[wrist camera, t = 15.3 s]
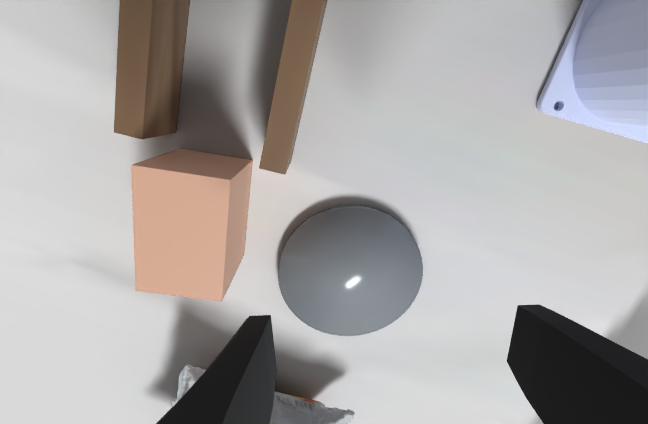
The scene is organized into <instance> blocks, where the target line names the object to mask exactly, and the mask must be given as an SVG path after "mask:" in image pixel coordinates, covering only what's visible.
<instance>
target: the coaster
mask: <svg viewBox="0 0 648 424" xmlns="http://www.w3.org/2000/svg"><path fill="white" fill-rule="evenodd" d="M422 276H423V265H422V258H421V254H420V250H419V248H418V246H417V244H416V242H415V240H414V239H413V237H412V236H411V234H410V233H409V231H408V230H407V229H406V228H405V227H404V226H403V225H402V224H401V223H400V222H399V221H398V220H397V219H395V218H394V217H392V216H390V215H389V214H387V213H385V212H383V211H381V210H378V209H375V208H371V207H366V206H360V205H346V206H338V207H333V208H330V209H327V210H324V211H321V212H319V213H317V214H315V215H313V216H312V217H310V218H308V219H307V220H305V221H304V222H303V223H302V224H301V225H300V226H298V228H297V229H296V230H295V231H294V232H293V233H292V235H291V236H290V237H289V239H288V240H287V242H286V244H285V247H284V249H283V252H282V255H281V258H280V263H279V269H278V279H279V287H280V290H281V293H282V296H283V298H284V300H285V302H286V304H287V305H288V307H289V308H290V310H291V311H292V312H293V313H294V314H295V315H296V316H297V317H298V318H299V319H300V320H301V321H303V322H304V323H306V324H307V325H309V326H310V327H312V328H314V329H316V330H319V331H322V332H325V333H328V334H333V335H340V336H355V335H362V334H367V333H371V332H374V331H377V330H379V329H382V328H384V327H386V326H387V325H389V324H391V323H392V322H394V321H395V320H397V319H398V318H399V317H400V316H401V315H402V314H404V313H405V311H406V310H407V309H408V308H409V307H410V306H411V304H412V303H413V301H414V300H415V298H416V296H417V294H418V291H419V288H420V285H421V281H422Z"/></svg>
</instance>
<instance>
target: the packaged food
mask: <svg viewBox="0 0 648 424" xmlns="http://www.w3.org/2000/svg"><path fill="white" fill-rule="evenodd" d="M206 370H207V369H201V368H200V367H194V366H192V365H186V366H185V367H184V368H183V369H182V371H181V373H180V375H179V388H178V391H177V400H176V402H174V401H172V400H171V405H172V407H173V406H174V405H175V404H176V403H177V402H178V401H179V400H180V399H181V397H182V396H183V395H184V394H185V393H186V392H187V391H188V390H189V389H190V388H191V387H192V385H193V384H194V383H195V382H196V381H197V380H198V379H199V378H200V377H201V375H202V374H203V373H204V372H205V371H206ZM181 389H182V390H181ZM354 414H355V413H354V412H353V411H351V410H349V409H348V410H341V409H338V408H327V407H325V405H323V404H322V403H321V402H318V401H315V400H311V399H306V398H301V397H296V396H292V395H288V394H283V393H279V392H274V401H273V409H272V414H271V419H270V424H348V423H349V422H350V421H351V420H352V419H353V418H354Z"/></svg>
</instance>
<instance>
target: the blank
mask: <svg viewBox="0 0 648 424" xmlns="http://www.w3.org/2000/svg"><path fill="white" fill-rule="evenodd" d="M252 164H253V160H249V159H243V158H237V157H231V156H224V155H218V154H212V153H205V152H199V151H193V150H186V149H178V150H175V151H172V152H169V153H166V154H163V155H160V156H157V157H154V158H151V159H148V160H145V161H142V162H139V163H136V164H133V165H131V167H132V198H133V229H134V259H135V290H136V291H141V292H149V293H157V294H165V295H174V296H182V297H190V298H198V299H206V300H214V301H222V300H223V298H224V296H225V294H226V292H227V290H228V288H229V286H230V283H231V281H232V279H233V277H234V275H235V273H236V271H237V269H238V267H239V264H240V262H241V260H242V258H243V256H244V251H245V240H246V229H247V218H248V207H249V196H250V185H251V175H252Z"/></svg>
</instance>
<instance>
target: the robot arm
mask: <svg viewBox="0 0 648 424" xmlns="http://www.w3.org/2000/svg"><path fill="white" fill-rule="evenodd" d="M556 102H558V104H559V105H558V108H557V109H556V110H555V109H554V104H555V103H556ZM537 109H538V110H539V111H540V112H541V113H544V114H548V115H551V116H555V117H558V118H561V119H565V120H568V121H572V122H575V123H579V124H582V125H585V126H589V127H592V128H596V129H599V130H602V131H606V132H609V133H613V134H616V135H620V136H623V137H626V138H630V139H633V140H637V141H640V142H643V143H647V144H648V0H583V1H582V4H581V6H580V8H579V10H578V12H577V15H576V17H575V19H574V21H573V24H572V26H571V28H570V30H569V33H568V35H567V37H566V39H565V41H564V44H563V46H562V48H561V50H560V53H559V55H558V57H557V59H556V61H555V64H554V66H553V68H552V70H551V73H550V75H549V77H548V79H547V82H546V84H545V86H544V88H543V90H542V93H541V95H540V97H539V99H538V102H537ZM507 362H508V364H509V366H510V368H511V370H512V372H513V374H514V376H515V378H516V380H517V382H518V384H519V386H520V387H521V389H522V391H523V393H524V395H525V396H526V398H527V400H528V401H529V403H530V404H531V406H532V407H533V409H534V410H535V411H536V413H537V414H538V416H539V417H540V419H541V420H542V422H543V423H544V424H648V359H646V358H644V357H642V356H640V355H638V354H636V353H634V352H632V351H630V350H628V349H626V348H624V347H622V346H620V345H618V344H616V343H614V342H612V341H611V340H609V339H607V338H605V337H603V336H601V335H599V334H597V333H595V332H593V331H591V330H589V329H588V328H586V327H584V326H582V325H580V324H578V323H576V322H574V321H572V320H570V319H568V318H566V317H564V316H562V315H560V314H558V313H556V312H554V311H552V310H550V309H548V308H545V307H543V306H541V305H518V307H517V312H516V318H515V323H514V328H513V333H512V338H511V343H510V348H509V353H508V358H507ZM276 371H277V370H276V361H275V351H274V342H273V333H272V323H271V315H264V316H249V317H248V318H247V319H246V321H245V322H244V323H243V324H242V326H241V327H240V328H239V330H238V331H237V332H236V334H235V335H234V336H233V338H232V339H231V340H230V341H229V343H228V344H227V345H226V346H225V348H224V349H223V350H222V352H221V353H220V354H219V355H218V356H217V358H216V359H215V360H214V361H213V362H212V364H211V365H210V366H209V367H208V368H207V370H206V371H205V372H204V373H203V374H202V375H201V377H200V378H199V379H198V380H197V381H196V382H195V383H194V384H193V385H192V387H191V388H190V389H189V390H188V391H187V392H186V393H185V394H184V395H183V396H182V397H181V399H180V400H179V401H178V402H177V403H176V404H175V405H174V406H173V407H172V408H171V409H170V410H169V411H168V412H167V413H166V414H165V415H164V416H163V417H162V418H161V419H160V420H159V421H158V422H157V423H156V424H270V419H271V414H272V409H273V401H274V392H275V382H276Z"/></svg>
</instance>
